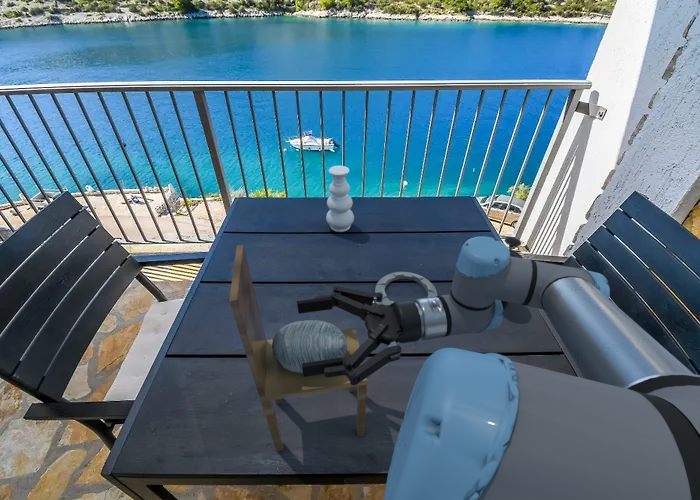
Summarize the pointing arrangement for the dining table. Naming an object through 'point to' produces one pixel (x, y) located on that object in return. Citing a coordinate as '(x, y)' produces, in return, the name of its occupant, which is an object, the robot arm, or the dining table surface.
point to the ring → (403, 275)
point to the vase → (339, 201)
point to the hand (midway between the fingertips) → (299, 336)
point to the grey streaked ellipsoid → (307, 344)
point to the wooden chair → (267, 370)
